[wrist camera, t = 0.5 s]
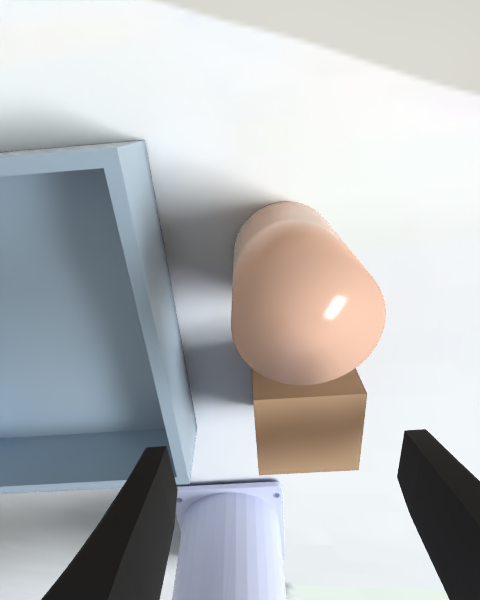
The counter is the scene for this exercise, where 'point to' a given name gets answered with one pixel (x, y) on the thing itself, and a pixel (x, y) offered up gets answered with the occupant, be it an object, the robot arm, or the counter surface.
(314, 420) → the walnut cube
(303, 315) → the terracotta cylinder
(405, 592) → the counter surface
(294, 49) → the counter surface
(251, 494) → the robot arm
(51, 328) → the tote
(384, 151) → the counter surface
